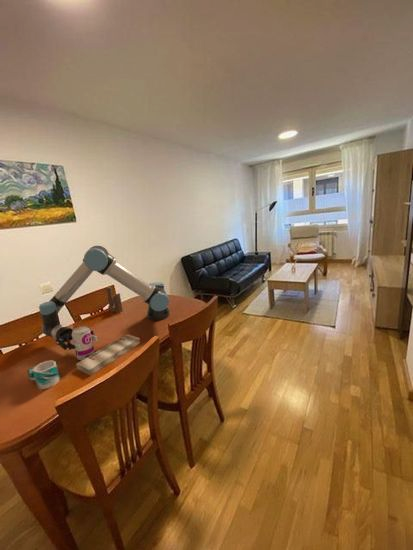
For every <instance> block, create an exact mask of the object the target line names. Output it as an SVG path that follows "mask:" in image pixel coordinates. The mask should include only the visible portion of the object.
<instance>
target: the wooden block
mask: <svg viewBox="0 0 413 550" xmlns="http://www.w3.org/2000/svg"><path fill="white" fill-rule="evenodd" d="M105 292H106V296H107V301H108V306H107V307H108V311H109V312H113V313H118V314H120V313H122V312H124V311H123V306H122V305H123V304H122V299H121V293H120V292H118V293H117V294H115V295H114V297H113V290H112V287H111V286H107V287H105Z"/></svg>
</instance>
